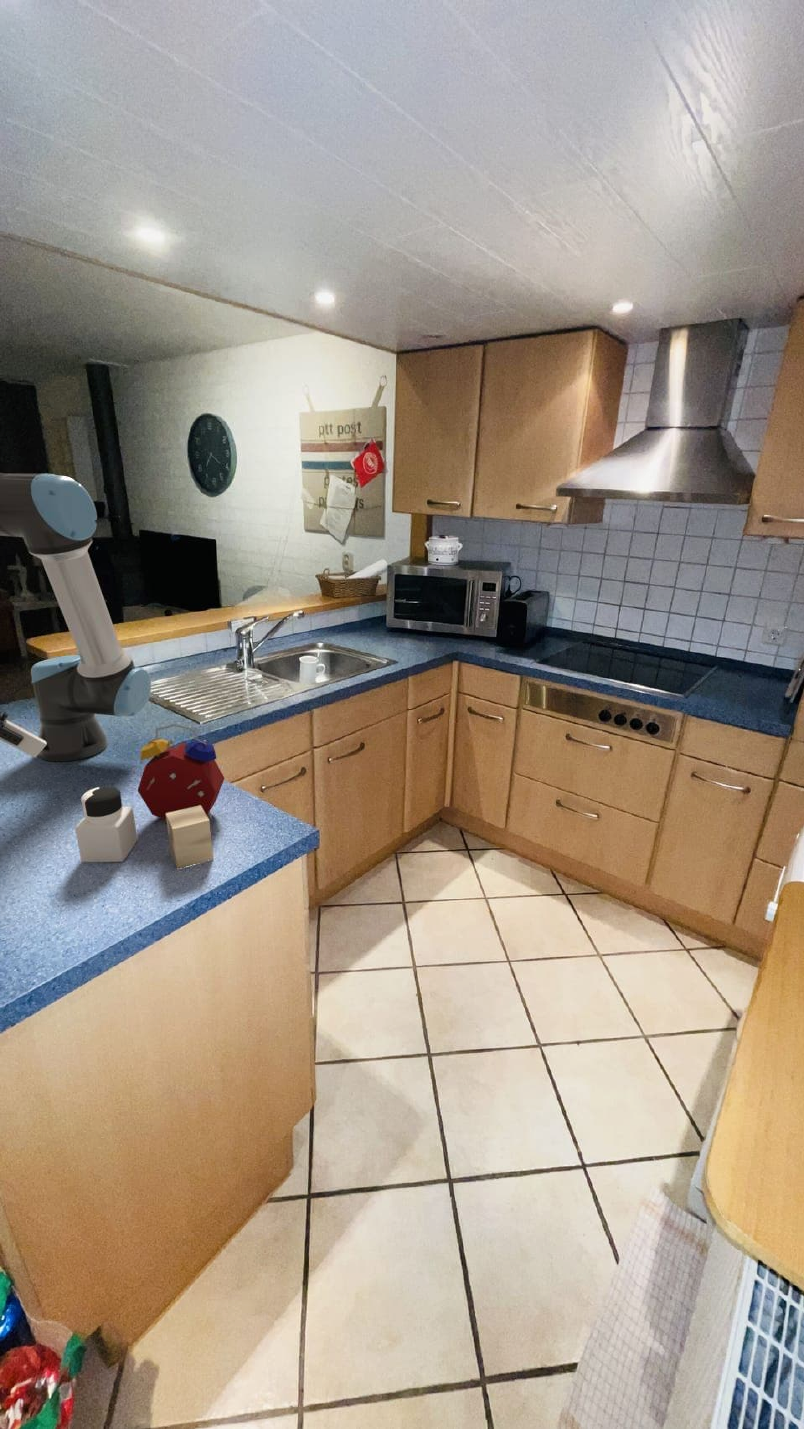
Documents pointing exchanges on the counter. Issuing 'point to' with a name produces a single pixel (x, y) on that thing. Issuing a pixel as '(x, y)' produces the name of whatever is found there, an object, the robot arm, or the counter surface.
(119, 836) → the medicine bottle
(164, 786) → the alarm clock
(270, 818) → the counter surface
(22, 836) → the counter surface
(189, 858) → the beech block
